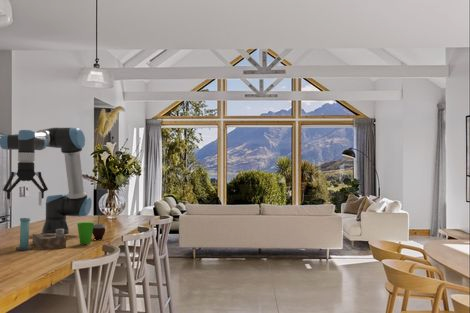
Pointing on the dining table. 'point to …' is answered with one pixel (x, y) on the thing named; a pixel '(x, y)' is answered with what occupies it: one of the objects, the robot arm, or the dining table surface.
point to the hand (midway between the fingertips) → (25, 205)
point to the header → (50, 240)
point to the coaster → (23, 249)
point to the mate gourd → (98, 230)
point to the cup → (85, 232)
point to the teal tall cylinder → (24, 232)
